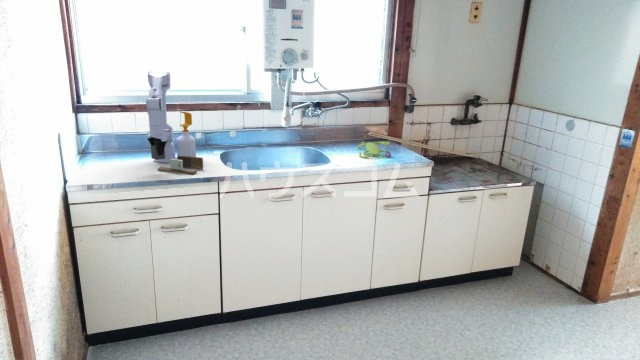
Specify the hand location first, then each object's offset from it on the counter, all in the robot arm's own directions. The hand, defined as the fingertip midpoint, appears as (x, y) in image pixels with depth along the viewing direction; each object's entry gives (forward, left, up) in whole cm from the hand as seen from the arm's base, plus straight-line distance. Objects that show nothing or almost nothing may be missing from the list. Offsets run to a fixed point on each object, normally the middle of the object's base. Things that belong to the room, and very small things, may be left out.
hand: (158, 153), depth 210 cm
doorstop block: (0, 0, -2) cm, 2 cm away
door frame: (-7, +7, -9) cm, 13 cm away
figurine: (-75, +90, -9) cm, 117 cm away
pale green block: (-3, +7, -8) cm, 11 cm away
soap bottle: (-25, -1, -9) cm, 27 cm away
